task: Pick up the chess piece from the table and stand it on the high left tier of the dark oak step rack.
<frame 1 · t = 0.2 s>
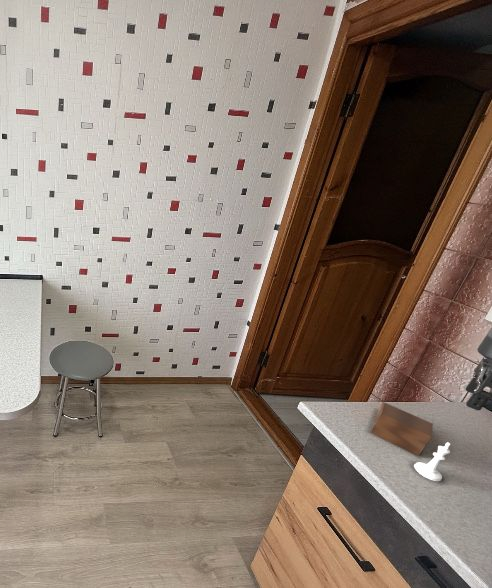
hand: (471, 399, 77), 20 cm above the kitchen counter, tool pointing down, fingers open, 8 cm apart
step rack: (396, 431, 94), on the kitchen counter
chess piece: (426, 472, 82), on the kitchen counter
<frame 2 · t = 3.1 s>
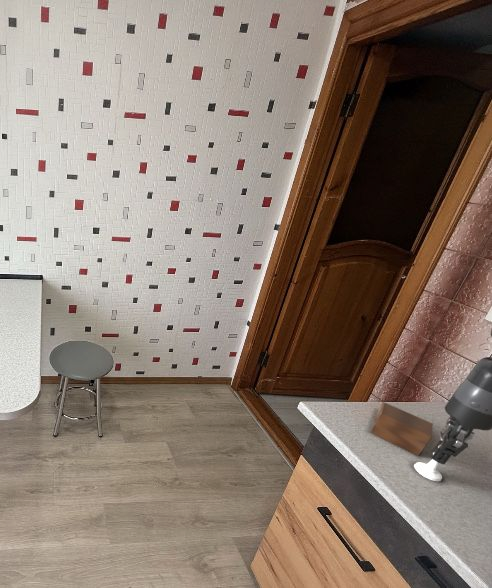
hand: (437, 457, 80), 5 cm above the kitchen counter, tool pointing down, fingers closed on chess piece
chess piece: (426, 472, 82), on the kitchen counter, touching gripper
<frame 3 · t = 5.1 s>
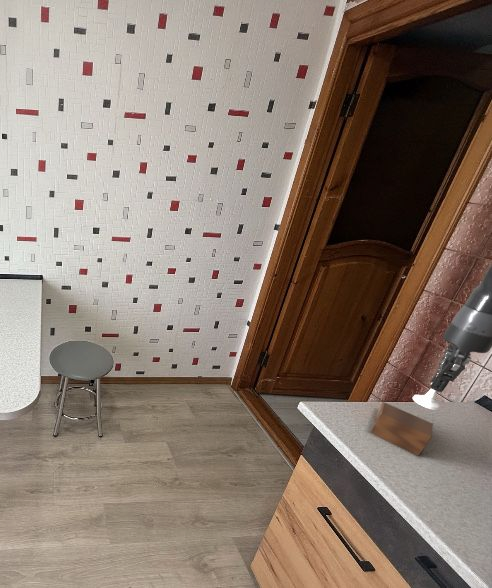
hand: (435, 387, 82), 19 cm above the kitchen counter, tool pointing down, fingers closed on chess piece
chess piece: (424, 403, 84), point 14 cm above the kitchen counter, touching gripper
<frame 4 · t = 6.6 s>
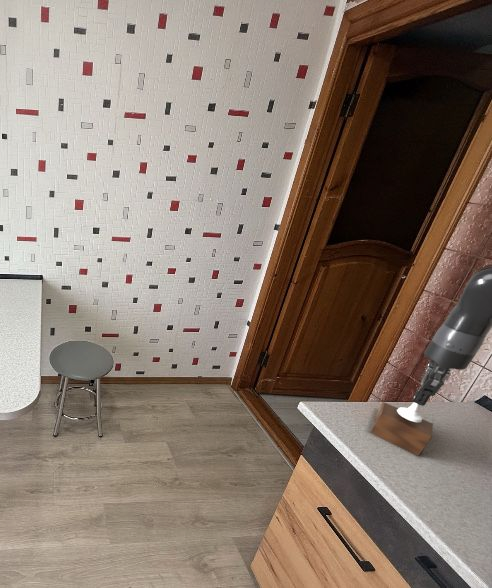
hand: (418, 400, 86), 13 cm above the kitchen counter, tool pointing down, fingers closed on chess piece
chess piece: (408, 416, 88), point 8 cm above the kitchen counter, touching gripper
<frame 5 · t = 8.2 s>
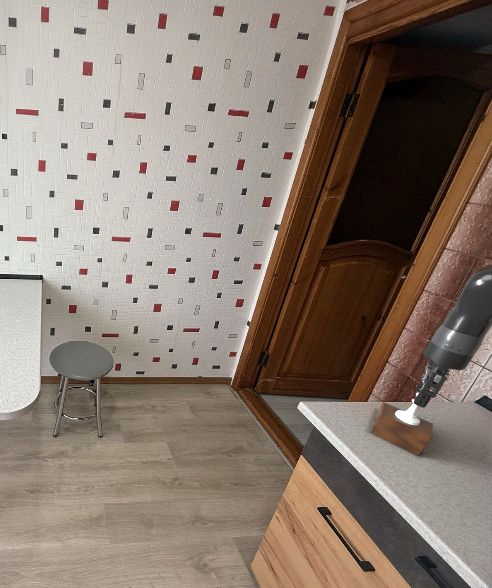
hand: (419, 398, 86), 14 cm above the kitchen counter, tool pointing down, fingers open, 8 cm apart
chess piece: (406, 419, 89), point 7 cm above the kitchen counter, touching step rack
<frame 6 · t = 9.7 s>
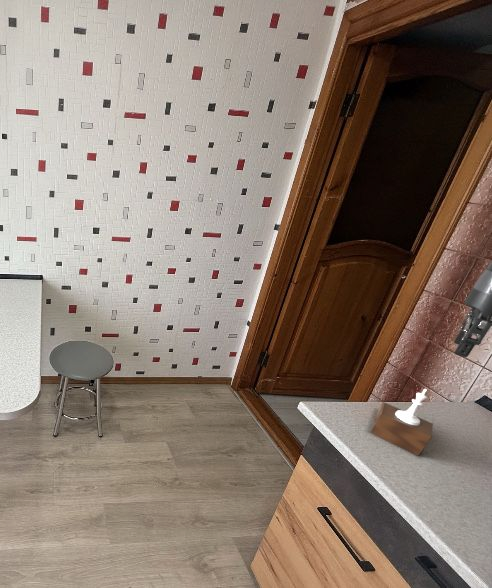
hand: (459, 349, 84), 28 cm above the kitchen counter, tool pointing down, fingers open, 8 cm apart
nothing on the kitchen counter moved.
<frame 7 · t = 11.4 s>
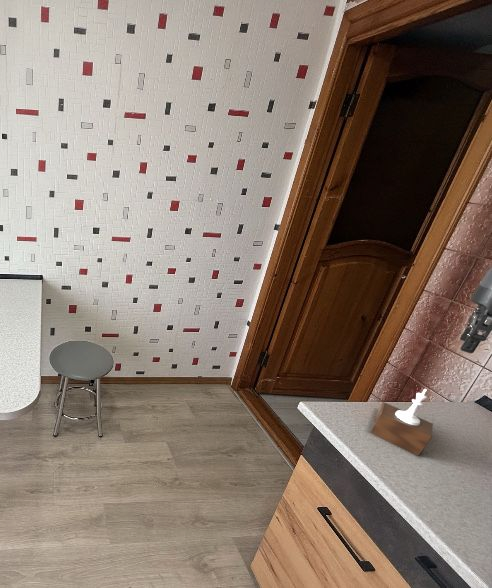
hand: (465, 346, 85), 28 cm above the kitchen counter, tool pointing down, fingers open, 8 cm apart
nothing on the kitchen counter moved.
at the end: chess piece inside the target area on the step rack (0.2 cm from its centre), point 6.8 cm above the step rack's base; chess piece tilted 0°; the gripper is holding nothing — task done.
